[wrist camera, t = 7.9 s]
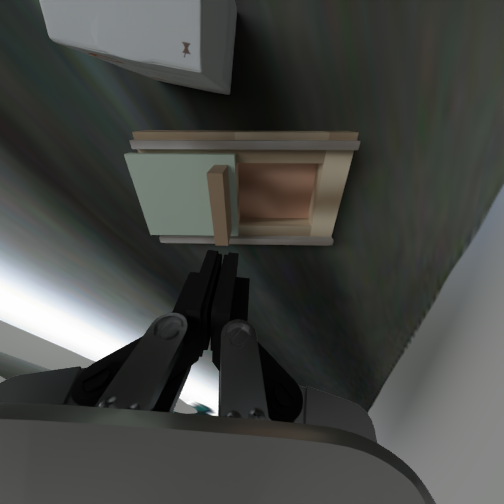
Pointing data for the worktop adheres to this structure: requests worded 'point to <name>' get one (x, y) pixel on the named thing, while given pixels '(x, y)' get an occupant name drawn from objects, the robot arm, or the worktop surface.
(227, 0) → the small box
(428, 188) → the worktop surface
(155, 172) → the lid
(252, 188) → the sliding lid wooden box
